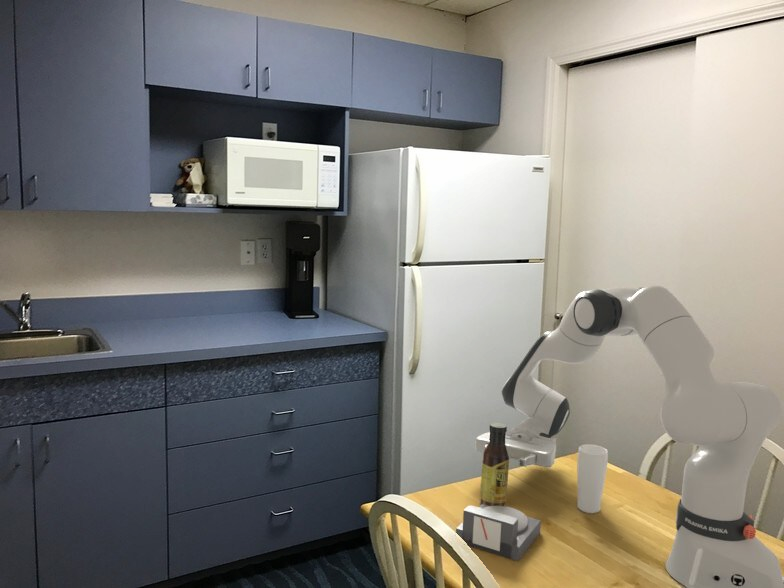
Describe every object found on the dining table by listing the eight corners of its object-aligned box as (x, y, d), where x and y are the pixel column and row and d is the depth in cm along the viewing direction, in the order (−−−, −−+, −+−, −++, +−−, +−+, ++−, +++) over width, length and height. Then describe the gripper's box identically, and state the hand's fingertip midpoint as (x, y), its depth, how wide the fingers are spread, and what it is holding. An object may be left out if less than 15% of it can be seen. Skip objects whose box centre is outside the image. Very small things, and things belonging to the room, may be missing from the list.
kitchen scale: (540, 533, 149) (542, 500, 148) (517, 561, 136) (519, 527, 135) (481, 516, 156) (483, 485, 155) (454, 542, 143) (456, 509, 142)
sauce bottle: (497, 513, 157) (502, 432, 154) (474, 505, 161) (479, 425, 158) (510, 504, 162) (515, 425, 160) (488, 496, 166) (492, 419, 163)
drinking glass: (600, 504, 164) (604, 445, 162) (606, 516, 157) (611, 455, 155) (571, 501, 165) (576, 443, 163) (576, 514, 158) (581, 453, 156)
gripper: (487, 423, 181) (465, 437, 169) (561, 438, 171) (544, 455, 159) (485, 445, 182) (464, 461, 170) (560, 462, 172) (543, 480, 160)
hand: (503, 458), depth 165 cm, fingers open, 8 cm apart
